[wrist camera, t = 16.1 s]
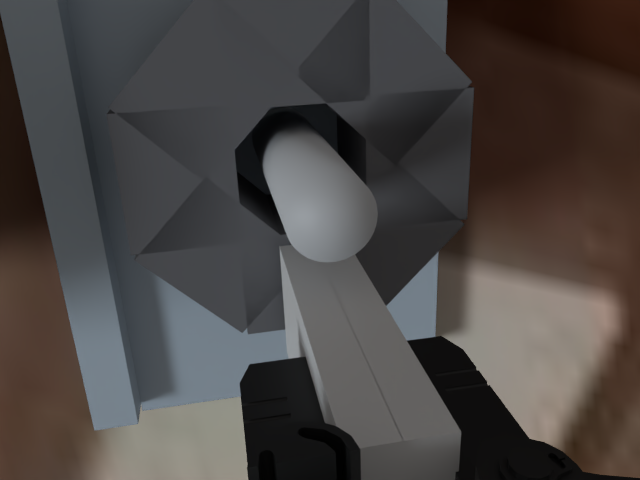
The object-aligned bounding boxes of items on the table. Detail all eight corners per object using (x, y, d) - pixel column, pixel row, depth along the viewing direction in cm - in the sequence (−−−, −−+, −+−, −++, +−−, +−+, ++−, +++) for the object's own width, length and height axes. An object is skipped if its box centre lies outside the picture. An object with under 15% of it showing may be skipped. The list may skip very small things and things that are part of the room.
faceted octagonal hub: (155, 289, 16) (147, 347, 14) (107, -12, 14) (84, -14, 11) (421, 258, 18) (462, 306, 15) (428, -25, 15) (480, -31, 12)
